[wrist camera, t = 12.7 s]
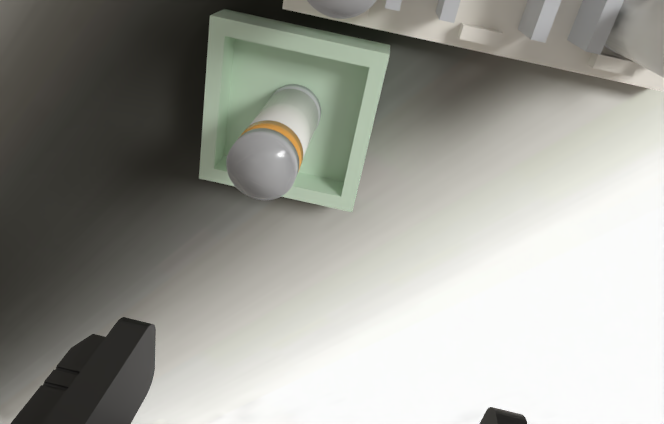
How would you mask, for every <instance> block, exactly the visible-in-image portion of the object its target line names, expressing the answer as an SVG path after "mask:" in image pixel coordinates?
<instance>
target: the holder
mask: <svg viewBox="0 0 664 424" xmlns="http://www.w3.org/2000/svg"><path fill="white" fill-rule="evenodd" d="M623 2H624V0H377V1H376V2H375V3H374V4H373V5H372V6H371V7H370V8H369V9H368V10H367V11H365V12H364V13H362V14H360V15H358V16H356V17H352V18H347V19H337V18H332V17H328V16H326V15H324V14H322V13H320V12H318V11H317V10H316V9H315V8H313V7H312V6H311V5H310V4H309V2H308V1H307V0H283V8H282V9H285V10H290V11H295V12H299V13H304V14H308V15H313V16H318V17H322V18H327V19H331V20H336V21H341V22H345V23H350V24H355V25H359V26H364V27H368V28H373V29H378V30H382V31H387V32H391V33H396V34H401V35H405V36H410V37H414V38H419V39H424V40H428V41H433V42H437V43H442V44H447V45H451V46H456V47H460V48H465V49H470V50H474V51H479V52H484V53H488V54H493V55H497V56H502V57H507V58H511V59H516V60H520V61H525V62H530V63H534V64H539V65H543V66H548V67H553V68H557V69H562V70H566V71H571V72H576V73H580V74H585V75H589V76H594V77H599V78H603V79H608V80H613V81H617V82H622V83H626V84H631V85H636V86H640V87H645V88H649V89H654V90H659V91H663V92H664V78H663V77H661V76H659V75H657V74H656V73H654V72H652V71H650V70H648V69H646V68H645V67H643V66H641V65H639V64H637V63H635V62H633V61H632V60H630V59H628V58H626V57H624V56H622V55H621V54H617V53H615V52H613V51H611V50H609V49H607V48H606V47H604V45H605V43H606V41H607V38H608V36H609V34H610V32H611V29H612V27H613V25H614V22H615V20H616V18H617V15H618V13H619V11H620V8H621V6H622V4H623Z"/></svg>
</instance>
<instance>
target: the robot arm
mask: <svg viewBox="0 0 664 424" xmlns="http://www.w3.org/2000/svg"><path fill="white" fill-rule="evenodd" d="M155 333H156V330H155V325H154V324H150V323H146V322H141V321H137V320H133V319H129V318H125V317H123V318H121V319H119V320H118V322H117V323H116V324H115V325H114V327H113V328H112V329H111V331H110V332H109V334H108V335H107V336H106V337H103V336H99V335H95V334H92V335H90V336H89V337H87V338H86V339H84V340H83V341H81V342H80V343H78V344H77V345H75V346H73V347H72V348H71V349H70V350H69V351H68V353H67V354H66V355H65V356H64V358H63V359H62V360H61V361H60V363H59V364H58V365H57V367H56V370H53V371H52V373H51V374H50V375H49V376H48V378H47V379H46V380H45V381H44V385H43V386H42V385H41V386H40V388H39V389H38V390H37V391H36V393H35V394H34V395H33V396H32V398H31V399H30V400H29V401H28V403H27V404H26V405H25V406H24V408H23V409H22V410H21V411H20V413H19V414H18V415H17V416H16V418H15V419H14V420H13V421H12V422H11V424H131V422H132V420H133V418H134V416H135V415H136V413H137V411H138V409H139V407H140V406H141V404H142V402H143V400H144V399H145V397H146V395H147V393H148V391H149V388H150V386H151V383H152V379H153V375H154V370H155ZM480 424H527V421H526V419H525V417H524V416H523V415H521V414H517V413H513V412H509V411H505V410H501V409H497V408H493V407H490V408H488V409H487V411H486V413H485V414H484V416H483V418H482V420H481V422H480Z"/></svg>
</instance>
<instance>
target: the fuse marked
mask: <svg viewBox="0 0 664 424" xmlns="http://www.w3.org/2000/svg"><path fill="white" fill-rule="evenodd" d="M320 118H321V105H320V102H319V100H318V98H317V97H316V95H315V94H314V93H313V92H312V91H311V90H310V89H308V88H307V87H305V86H302V85H298V84H288V85H284V86H282V87H280V88H278V89H277V90H276V91H275V92H274V93H273V94H272V96H271V97H270V98H269V100H268V102H267V103H266V105H265V106H264V107H263V109H262V110H261V111H260V113H259V114H258V115H257V116H256V118H255V119H254V120H253V122H252V123H251V124H250V125H249V127H247V128H246V129H245V130H244V132H243V133H242V134H241V136H240V137H239V138H238V139H237V141H236V142H235V143H234V145H233V146H232V147H231V149H230V151H229V153H228V155H227V160H226V167H227V172H228V175H229V178H230V180H231V181H232V183H233V184H234V186H235V187H236V188H237V189H238V190H239V191H240V192H242V193H243V194H245V195H247V196H249V197H251V198H254V199H258V200H273V199H276V198H279V197H281V196H283V195H284V194H286V193H287V192H288V191H289V190H290V188H291V187H292V185H293V183H294V181H295V179H296V176H297V174H298V172H299V169H300V167H301V164H302V161H303V157H304V155H305V153H306V150H307V148H308V145H309V143H310V141H311V138H312V136H313V134H314V131H315V130H316V128H317V126H318V124H319V121H320Z"/></svg>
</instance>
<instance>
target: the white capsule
mask: <svg viewBox="0 0 664 424" xmlns="http://www.w3.org/2000/svg"><path fill="white" fill-rule="evenodd" d="M604 47H606V48H607V49H609V50H611V51H613V52H615V53H617V54H621V55H622V56H624V57H626V58H628V59H630V60H632V61H633V62H635V63H637V64H639V65H641V66H643V67H645V68H646V69H648V70H650V71H652V72H654V73H656V74H657V75H659V76H661V77H663V78H664V0H624V2H623V4H622V6H621V8H620V11H619V13H618V15H617V18H616V20H615V22H614V25H613V27H612V29H611V32H610V34H609V36H608V38H607V41H606V43H605V45H604Z"/></svg>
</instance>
